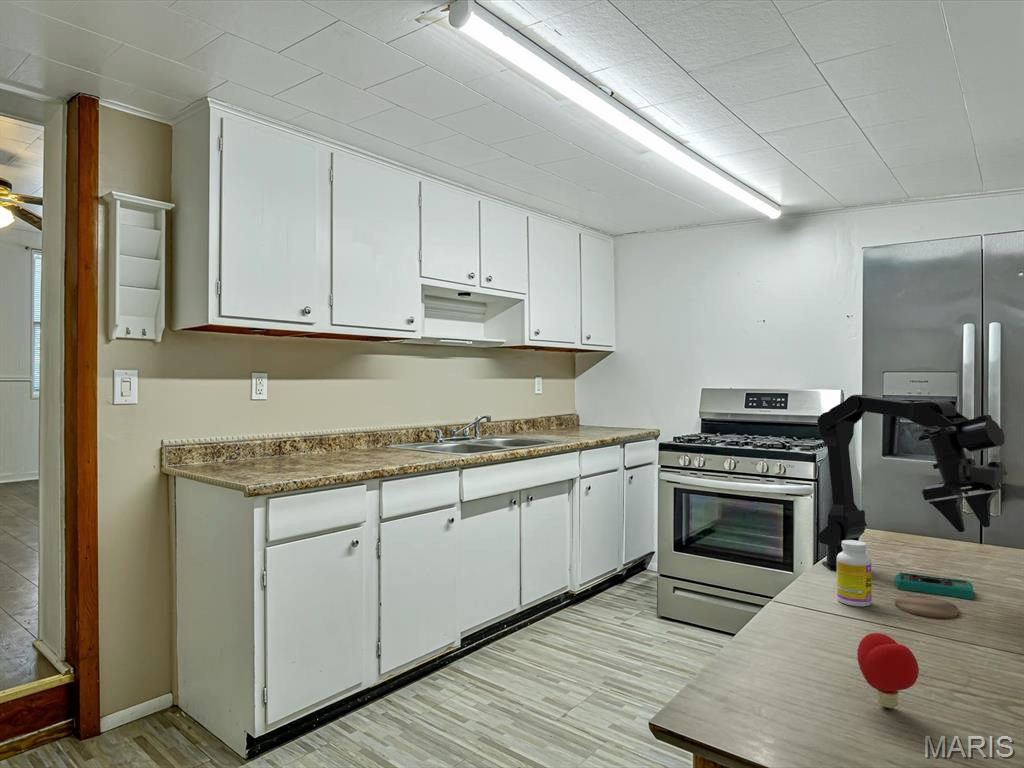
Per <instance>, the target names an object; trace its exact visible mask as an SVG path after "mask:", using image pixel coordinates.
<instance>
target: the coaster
mask: <svg viewBox="0 0 1024 768" xmlns="http://www.w3.org/2000/svg"><path fill="white" fill-rule="evenodd" d="M894 604H895V605H896V606H895V605H894V606H895V607H896V608H897V609H898V610H900V609H901V610H900V611H902V610H903V611H902V612H905V611H906V612H905V613H907V612H908V613H907V614H910V613H912V614H911V615H914V614H915V615H914V616H918V615H921V616H920V617H923V616H926V617H925V618H929V617H934V618H933V619H951V618H952V619H953V618H957V616H959V608H958V607H957V605H955V604H953V603H952V602H948V601H946V600H944V599H940V598H936V597H931V596H926V595H925V596H924V595H908V594H907V595H901V596H900V595H899V596H897V597H896V598H895V600H894Z"/></svg>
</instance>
